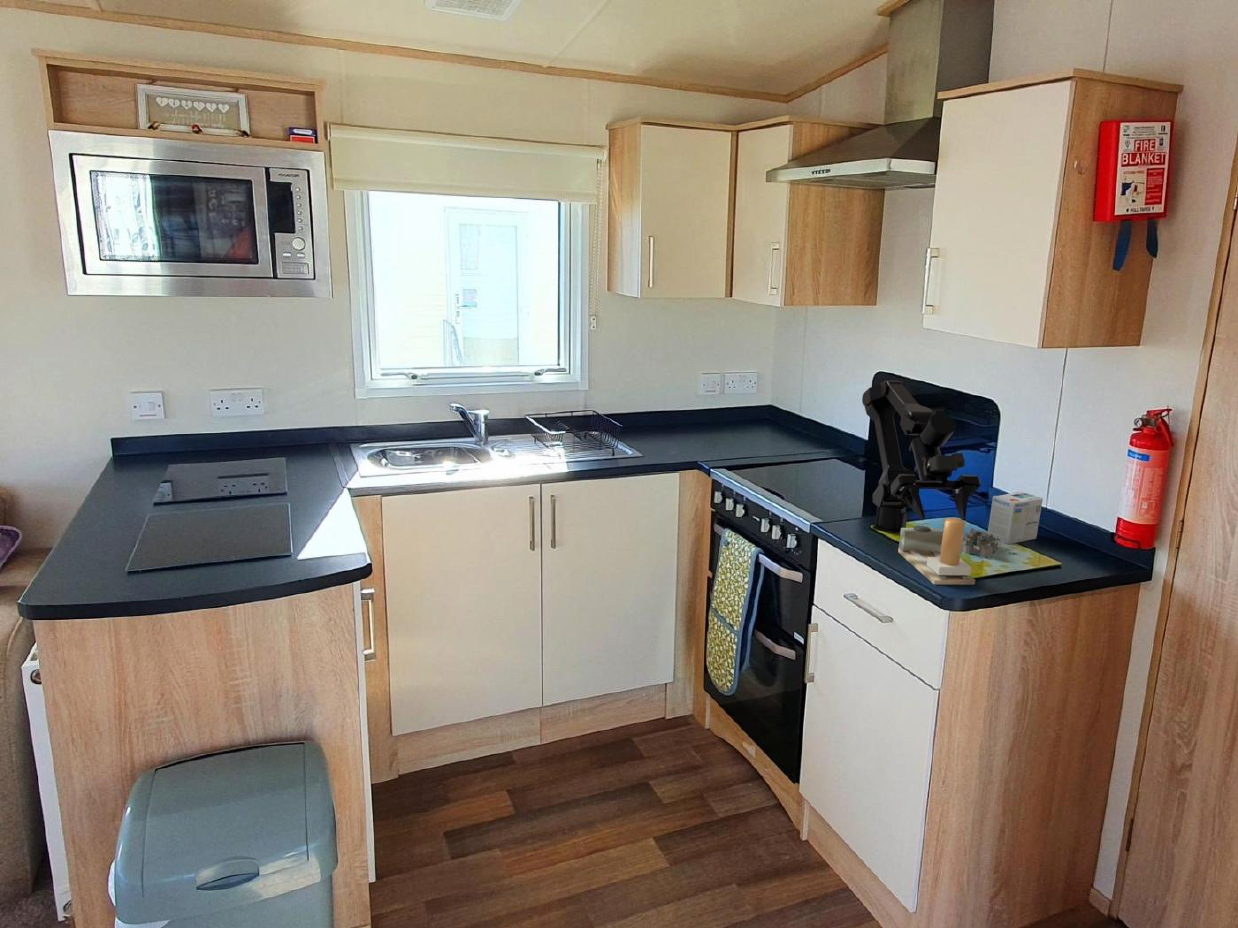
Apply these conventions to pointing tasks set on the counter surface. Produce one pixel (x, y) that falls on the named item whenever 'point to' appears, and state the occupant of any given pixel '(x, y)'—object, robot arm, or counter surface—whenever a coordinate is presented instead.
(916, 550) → the rail board
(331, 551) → the counter surface
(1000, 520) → the light bulb box
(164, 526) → the counter surface
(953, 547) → the rubber stamp
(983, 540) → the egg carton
